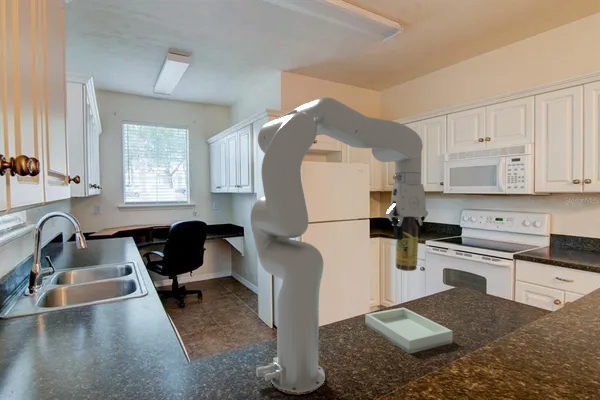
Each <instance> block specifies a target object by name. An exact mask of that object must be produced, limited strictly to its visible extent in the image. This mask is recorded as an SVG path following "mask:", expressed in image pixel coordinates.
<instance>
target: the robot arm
mask: <svg viewBox="0 0 600 400" xmlns="http://www.w3.org/2000/svg"><path fill="white" fill-rule="evenodd" d="M321 135H324V136H326V137H329V138H331V139H334V140H337V141H339V142H341V143H343V144H345V145H347V146H350V147H352V148H356V149H357V148H358V149H371V153H372V156H373V157H374V159H376V160H377V161H378V162H381V163H382V162H383V163H390V162H395V163H394V166H395V167H394V172H395V173H394V175H393V176H392V179H393V180H394V183H393V186H392V191H391V196H390V197H391V199H390V207H389V208H388V209H387V211H386V213H385V216H386V217H387V219H388V220H389V222H390V223H391V225H392V226H393V239H395V240H397V239H399V240H402V239H403V226H401V224H402V221H403V218H404V217H415V222H416V224H417V226H418V240H419V239H421V226H423V223H424V221H425V219H426V217H427V216H428V215H429V212H428V211H427V207H426V206H427V204H426V194H425V188H424V184H422V151H423V146H424V145H423V140H422V138H421V136H420V135H419V133H417V132H416V131H415V130H414V129H412V128H410V127H409V126H407V125H405V124H403V123H400V122H397V121H392V120H387V119H382V118H377V117H369V116H367V115H364V114H362V113H361V112H359V111H357V110H355V109H353V108H352V107H350V106H348V105H346V104H344V103H342V102H341V101H339V100H337V99H335V98H332V97H329V96H325V97H320V98H317V99H315V100H312V101H309V102H307V103H304V104H302V105H300V106H298V107H296V108H294V109H293V110H291V111H289V112H287V113H285V114H283V115H281V116H279V117H277V118H275V119H272V120H270V121H269V122H267V123H265V124H264V125H263V126H261V128H260V130H259V131H258V136H257V143H258V146H259V149H260V150H261V151H262V152H263V153H264V156H263V159H262V163H261V181H262V187H263V188H262V189H263V194H264V196H262V197H260V198H258V199H257V200H256V201H255V202H254V204H253V206H252V208H251V210H250V211H251V212H250V225H251V230H252V234H253V235H252V236H253V239H254V243H255V247H256V252H257V257H258V260H259V262H260V265H261V267H262V269H263V270H264V271H265V272H267V273H268V274H270V275H271V276H274V277H277V278H279V279H280V280H282V283H281V284H282V285H281V287H280V290H279V291H278V296H277V303H276V305H277V306H276V314H277V316H276V318H277V321H276V322H277V324H276V325H277V326H276V331H277V333H276V334H277V335H276V357H273V358H272V362H269V363H268V364H269V365H262V366H258V367H256V368H255V374H256V377H257V378H260V377H264V379H265V380H264V381H265V382H267V381H270V380H271V382H272V384H274V385H275V386H276V387H278V388H280V389H283V390H287V391H291V392H306V391H310V390H313V389H316V388H318V387H320V386H321V385H322V384H323V383H324V384H325V382H324V381H326V374H325V371H324V369H323V368H322V367H321V366H320V365H319V335H320V334H319V332H320V330H319V328H320V327H319V324H320V322H319V318H320V317H319V312H320V311H319V308H320V306H319V305H320V302H319V301H320V288H321V284H322V283H321V282H322V277H323V272H324V258H323V255H322V253H321V252H320V250H319V249H318V248H316V247H315V246H314V245H313V244H311V243H308V242H305V241H301V240H296V238H299V237H301V236H302V235H304V234H305V233H306V232H307V229H308V227H309V214H308V210H307V204H306V198H305V193H304V188H303V182H302V176H301V174H302V173H301V169H302V164H303V160H304V158H305V156H306V154H307V152H308V151H309V150H310V148H311V147H312V146H313V144H314V143H315V141H316V138H317V136H321ZM271 382H270V383H271ZM272 384H271V385H272ZM324 384H323V385H324ZM293 389H296V390H293Z"/></svg>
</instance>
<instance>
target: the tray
mask: <svg viewBox="0 0 600 400" xmlns="http://www.w3.org/2000/svg"><path fill="white" fill-rule="evenodd" d="M364 317H365V319H364V320H365V324H364V325H365V326H366V327H368V328H370V329H371V330H373V331H374V332H376V333H377V334H378V335H380V336H382V337H383V338H384V339H386V340H388V341H389V342H391V343H392V344H394V345H395V346H397V347H398V348H399V349H401V350H403V351H404V352H406V353H407V354H409V355H410V354H414V353H417V352H420V351H421V352H422V351H426V350H429V349H434V348H437V347H441V346H445V345H450V344H452V343H453V339H454V338H453V332H454V331H453V330H452V329H449V328H448V327H446V326H443V325H441V324H439V323H437V322H435V321H433V320H432V319H429V318H427V317H425V316H422V315H420V314H418V313H416V312H414V311H412V310H410V309H408V308H405V307H398V308H393V309H387V310H382V311H376V312H369V313H365V314H364Z"/></svg>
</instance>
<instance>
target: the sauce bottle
mask: <svg viewBox="0 0 600 400" xmlns="http://www.w3.org/2000/svg"><path fill="white" fill-rule="evenodd" d="M401 226H403V239H402V240H399V239H396V243H395V245H396V246H395V247H396V248H395V268H396V269H398V270H401V271H405V272H409V271H410V272H412V271H416V270H417V268H418V267H417V266H418V250H419V239H418V226H417V224H416V222H415V217H404V218H403V221H402V224H401Z"/></svg>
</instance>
